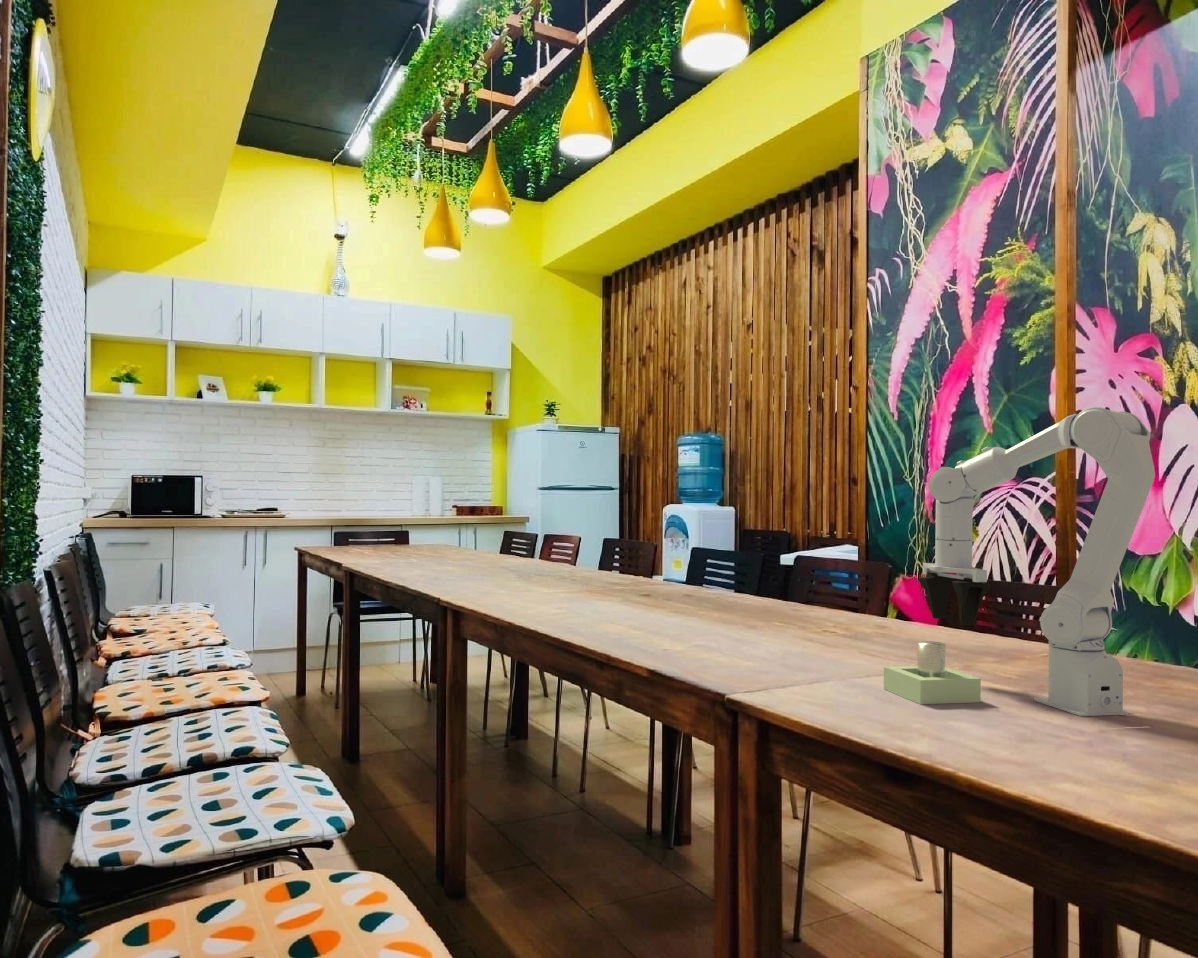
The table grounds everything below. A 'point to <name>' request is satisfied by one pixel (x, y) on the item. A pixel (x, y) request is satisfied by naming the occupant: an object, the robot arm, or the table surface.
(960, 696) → the green tray
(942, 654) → the peg
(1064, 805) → the table surface
